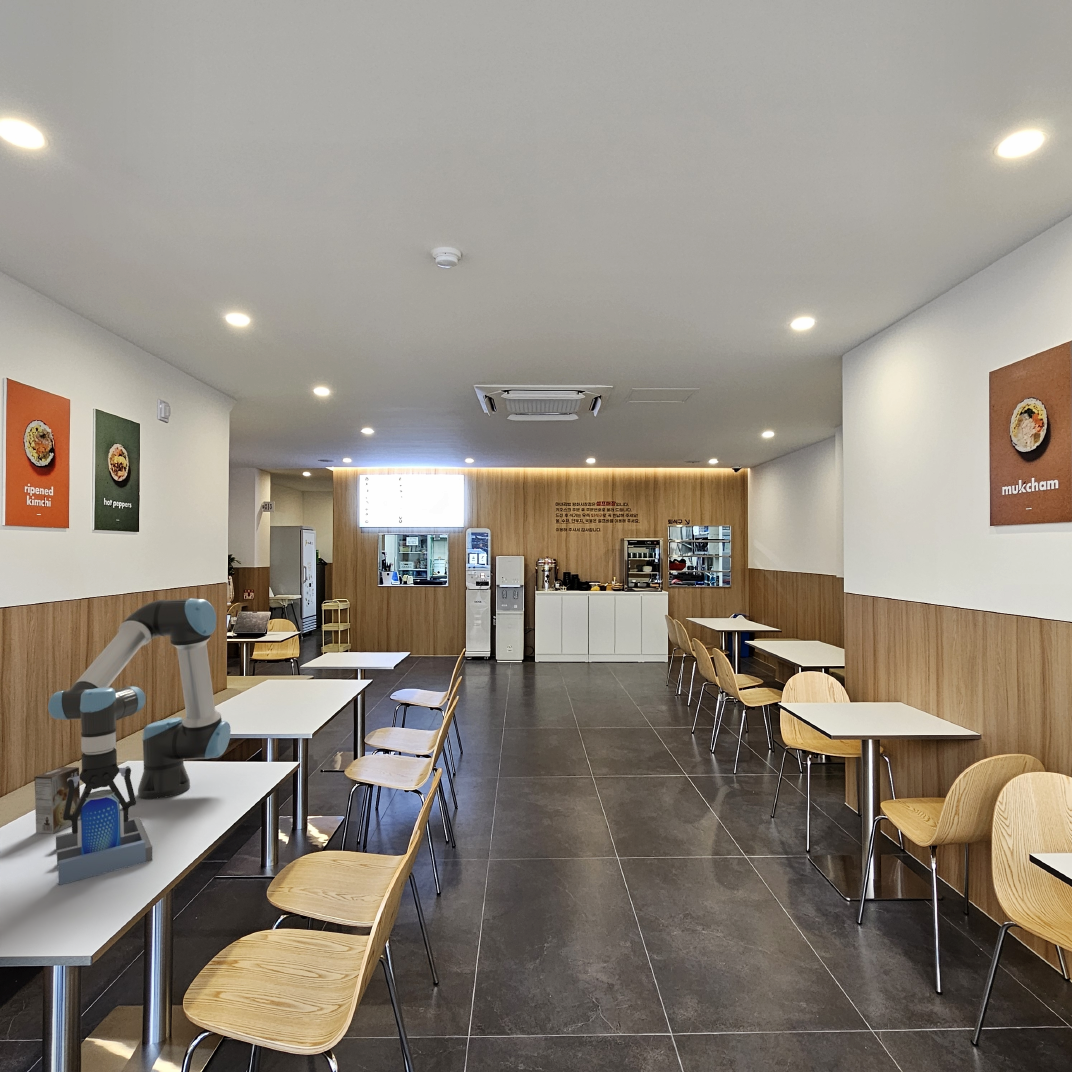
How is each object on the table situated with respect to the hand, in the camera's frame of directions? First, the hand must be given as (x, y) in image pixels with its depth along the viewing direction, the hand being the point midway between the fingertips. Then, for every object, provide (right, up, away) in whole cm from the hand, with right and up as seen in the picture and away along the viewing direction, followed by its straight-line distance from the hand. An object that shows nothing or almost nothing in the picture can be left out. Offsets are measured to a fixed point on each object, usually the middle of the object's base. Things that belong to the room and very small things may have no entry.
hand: (101, 840), depth 172 cm
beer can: (0, -5, 0) cm, 5 cm away
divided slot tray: (-3, -6, +5) cm, 8 cm away
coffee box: (-28, -8, +25) cm, 38 cm away
